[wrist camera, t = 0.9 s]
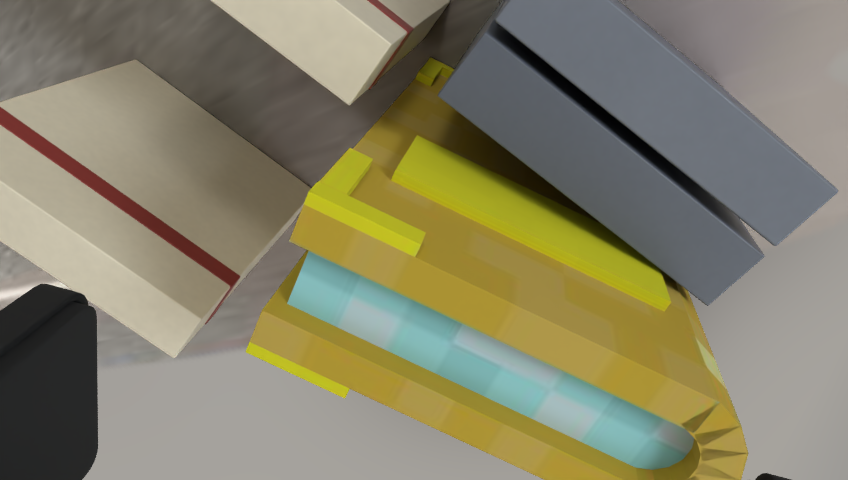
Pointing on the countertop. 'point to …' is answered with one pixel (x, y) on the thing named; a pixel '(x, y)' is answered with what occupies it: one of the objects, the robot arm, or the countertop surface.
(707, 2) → the countertop surface
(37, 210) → the cream panel
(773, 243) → the grey book
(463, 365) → the book
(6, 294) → the countertop surface
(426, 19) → the cream book
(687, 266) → the grey book
